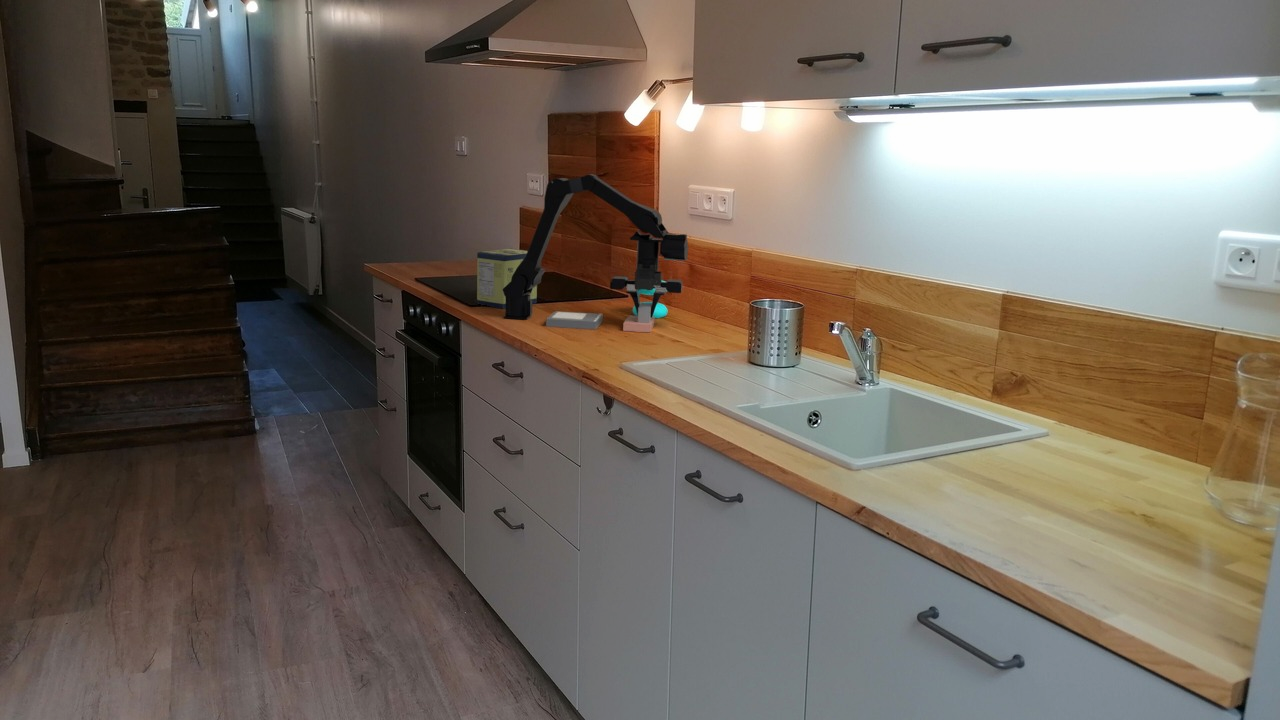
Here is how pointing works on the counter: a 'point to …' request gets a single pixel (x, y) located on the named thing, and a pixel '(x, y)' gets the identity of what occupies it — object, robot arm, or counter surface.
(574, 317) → the grey flat box
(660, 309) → the donuts
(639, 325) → the pink and grey block
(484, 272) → the protein box
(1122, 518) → the counter surface
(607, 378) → the counter surface
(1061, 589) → the counter surface
